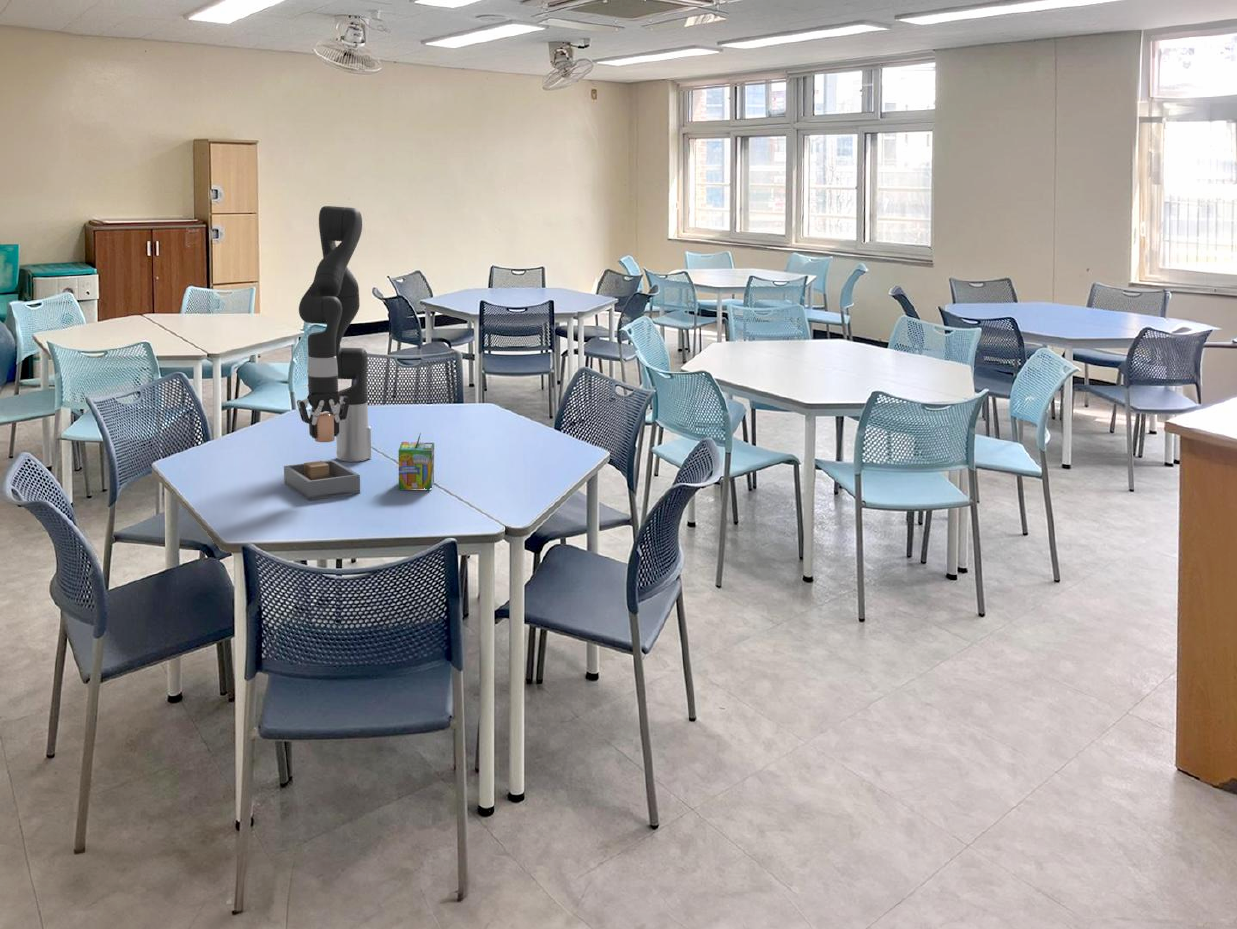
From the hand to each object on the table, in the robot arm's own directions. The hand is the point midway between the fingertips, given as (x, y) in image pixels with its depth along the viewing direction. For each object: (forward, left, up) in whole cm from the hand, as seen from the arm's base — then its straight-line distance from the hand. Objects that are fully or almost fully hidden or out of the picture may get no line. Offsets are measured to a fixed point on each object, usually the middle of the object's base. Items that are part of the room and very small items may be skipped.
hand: (324, 436), depth 281 cm
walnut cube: (0, -7, -14) cm, 16 cm away
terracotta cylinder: (0, 0, -1) cm, 1 cm away
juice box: (-23, +7, -15) cm, 28 cm away
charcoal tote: (0, -3, -15) cm, 15 cm away
